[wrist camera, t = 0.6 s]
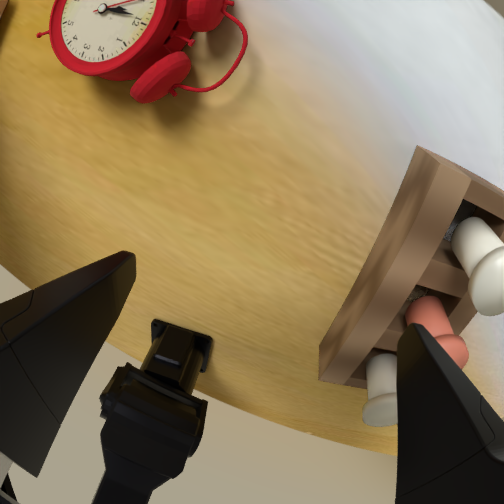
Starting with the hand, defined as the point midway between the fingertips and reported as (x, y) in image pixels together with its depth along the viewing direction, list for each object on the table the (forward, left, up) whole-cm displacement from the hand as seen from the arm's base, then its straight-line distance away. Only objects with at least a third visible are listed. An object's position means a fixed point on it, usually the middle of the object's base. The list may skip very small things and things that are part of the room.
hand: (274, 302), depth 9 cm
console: (-6, -12, -13) cm, 19 cm away
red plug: (-6, -12, -9) cm, 16 cm away
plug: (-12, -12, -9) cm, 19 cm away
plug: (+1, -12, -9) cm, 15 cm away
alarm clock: (+8, +12, -14) cm, 20 cm away
